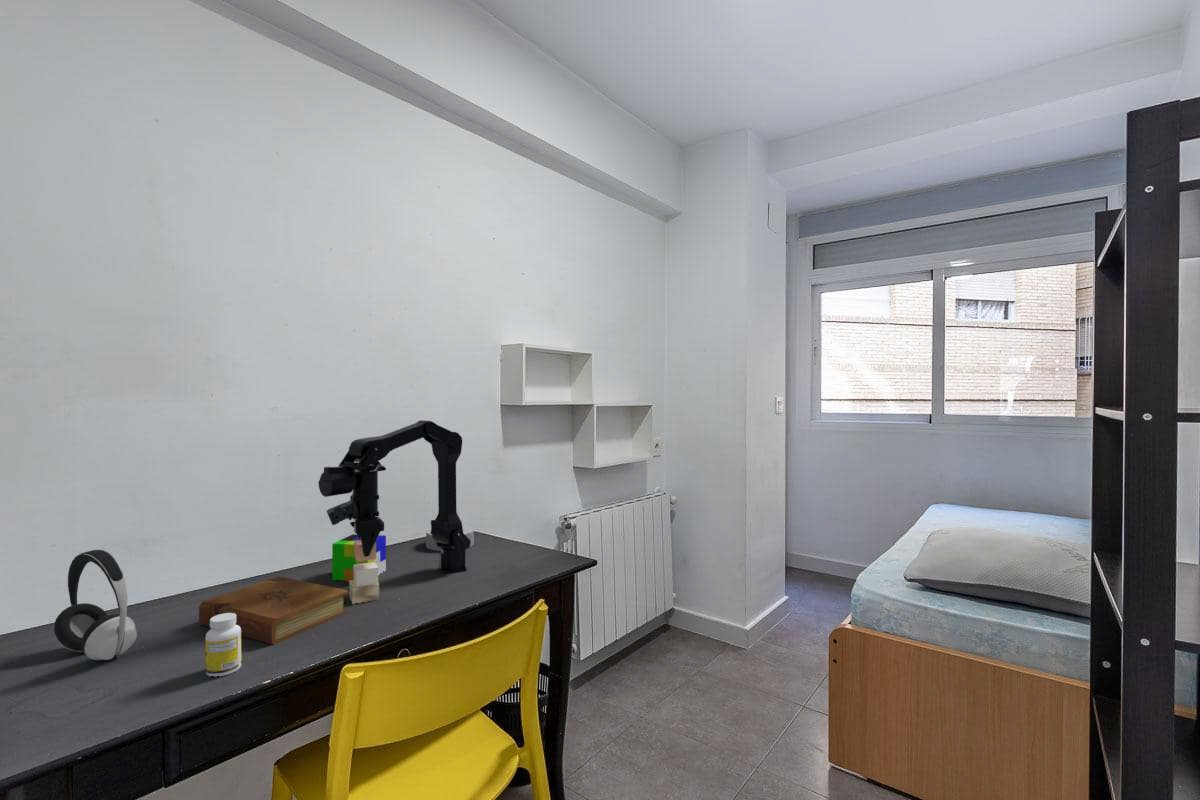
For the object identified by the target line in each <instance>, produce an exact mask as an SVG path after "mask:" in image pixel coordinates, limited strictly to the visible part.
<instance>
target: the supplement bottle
mask: <svg viewBox="0 0 1200 800" xmlns="http://www.w3.org/2000/svg"><path fill="white" fill-rule="evenodd" d="M235 623H236V614H235V613H224V614H219V615H216V616H214V617H212V618H211V619H210V627H209V628H210V629H209V630H208V631H207V632H206V634H205V640H204V641H205V673H206V675H207V676H208V677H211V676H214V678H216V677H217V676H219V677H224V676H228V675H231V674H233V673H235V672H236V671H238V670H239V669H240V668H241V667H242V663H243V662H242V661H243V660H242V659H243V657H242V636H241V628H240V626H238V625H236V624H235Z"/></svg>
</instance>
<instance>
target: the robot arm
mask: <svg viewBox="0 0 1200 800" xmlns="http://www.w3.org/2000/svg"><path fill="white" fill-rule="evenodd" d="M421 439H423V440H424V441H426V442H427V443H428V444H430V445H431V450H432V455H433V457H434V458H435V461H436V462H437V486H438V487H437V490H438V491H437V492H438V493H437V495H438V496H437V497H438V503H437V504H438V506H437V507H438V514H437V515H436V518H435V519H431V520H430V527H431V528H430V529H431V533H430V534H432V537H433V539H434V540H435V541H436V544H437V547H441V551H440V552H439V553H438V568H439V569H440V570H441V571H442V572H443V574H450V573H457V572H464V571H467V570H468V567H467V566H466V550H468V549H470V548H471V547H470V543H471V541H470V540H469V539H468V537H467V536H466V535H465V534H464V533H463V528H462V526H463V522H462V520H461V519H460V516H459V515H458V513H457V461H458V459H459V458H460V456H461V455H462V447H463V436H462V435H461V434H460V433H458V432H457V431H451V430H449V429H447V428H445V427H443V426H440V425H439V424H437V423H435V422H434V421H432V420H417V422H415V423H412V424H409V425H407V426H405V427H402V428H398V429H396V430H394V431H391V432H388V433H386V434H383V435H379V436H370V437H363V438H357V439H355V440H352V441H351V442H350V445H349V447H348V451H347V452H346V454H345V455H344V456H343V458H342V460H341V461H340V462H339V464H338V466H325V467H323V472H322V473H321V474H320V477H319V480H318V489H319V491H320V493H321V495H322V496H323V497H325V498H326V497H332V496H333V497H334V496H339V495H340V496H341V495H345V494H350V493H351V495H350V496H349V497H350V500H348V501H346V502H343V503H340V504H338V505H335V506H333V507H331V508H328V509H327V510H326V513H327V516H328V519H329V520H330V523H331V525H332V526H335V525H338V524H339V523H340V522H343V521H345V520H348V521H350V522H349V524H350V526H351V527H352V528H353V532H354V533H355V534H356V535H358V537H359V540H361V543H362V548H363V553H364V556H365V557H366V556H369V555H370V553H371V550H372V548H373V546H374V544H375V541H376V539H377V537H378V535H380V534H381V533H380V532H384V531H385V522H384V520H383V519H382V518H381V517H380V511H379V508H378V507H379V505H378V504H379V503H378V502H379V501H378V500H380V495H379V493H378V492H379V491H378V490H379V486H378V485H379V482H378V481H379V472H385V471H386V470H387V468H386V467H385V466H384V465H383V464H382V463H381V462H380V461H381V460H383V459H384V458H386V457H387V456H388V455H389V453H390V452H392V451H393V450H396V449H398V448H400V447H403V446H405V445H408V444H410V443H413V442H416V441H417V440H421ZM352 520H353V521H352Z"/></svg>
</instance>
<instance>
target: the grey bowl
mask: <svg viewBox="0 0 1200 800" xmlns="http://www.w3.org/2000/svg"><path fill="white" fill-rule="evenodd" d="M462 528H463V533H464V534H465V535H466V536H467V537H468V539H469V540H470V541H471V543H470V546H471V547H473V546H474V543H475V542H474V541H475V529H474V528H473V527H472V526H471V527H470V526H466V525H462ZM430 533H431V528H429V529H427V530H426V533H425V536H426V537H425V539H426V540H425V546H426V549H428V550H430V549H431V550H430V551H434V550H436V551H435V552H441V547H437V544H436V541H435V540H434V539H433V537H432V534H430ZM472 545H473V546H472Z"/></svg>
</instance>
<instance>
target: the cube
mask: <svg viewBox="0 0 1200 800" xmlns="http://www.w3.org/2000/svg"><path fill="white" fill-rule="evenodd" d="M354 557H355V559H356V561H365V560H372V559H376V542H375V544H374V546H373V548H372V550H371V553H370V555H369V556H366V557H365V556H364V553H363V548H362V543H361V540H357V541H354Z"/></svg>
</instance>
